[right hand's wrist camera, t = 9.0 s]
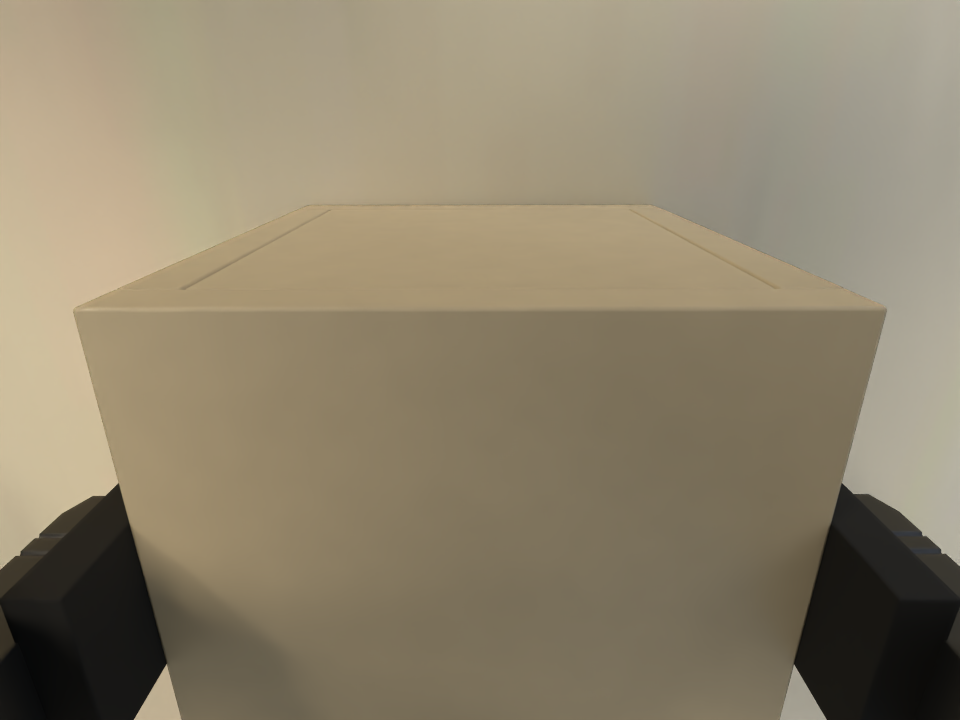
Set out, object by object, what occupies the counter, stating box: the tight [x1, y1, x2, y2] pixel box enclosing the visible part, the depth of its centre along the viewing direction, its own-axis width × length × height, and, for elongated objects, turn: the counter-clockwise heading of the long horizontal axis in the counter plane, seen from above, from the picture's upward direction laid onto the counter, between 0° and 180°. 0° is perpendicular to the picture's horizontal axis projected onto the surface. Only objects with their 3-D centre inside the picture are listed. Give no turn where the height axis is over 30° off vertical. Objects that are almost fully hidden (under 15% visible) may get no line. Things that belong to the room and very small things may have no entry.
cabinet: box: [73, 205, 887, 720], centre depth 15 cm, size 16×10×10 cm, turn 0°
